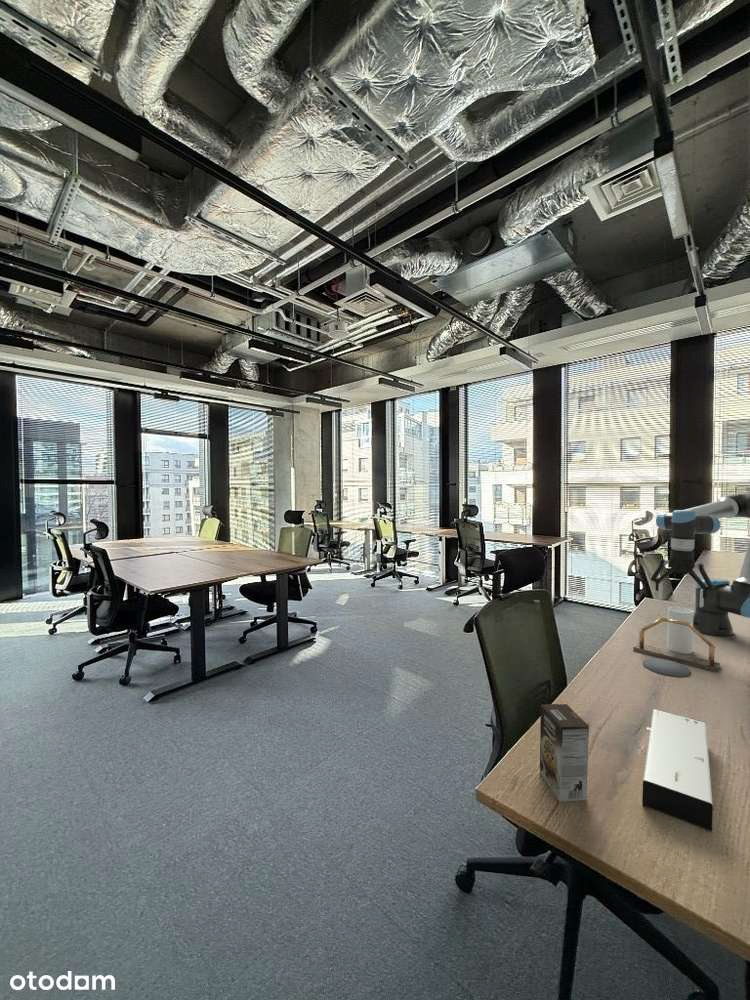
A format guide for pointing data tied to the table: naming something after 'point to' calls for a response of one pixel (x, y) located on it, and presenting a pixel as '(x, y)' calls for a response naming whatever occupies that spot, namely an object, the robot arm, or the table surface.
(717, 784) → the table surface
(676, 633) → the cup
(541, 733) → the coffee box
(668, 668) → the mat
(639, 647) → the buzz wire
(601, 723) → the table surface
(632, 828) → the table surface
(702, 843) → the table surface
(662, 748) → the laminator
